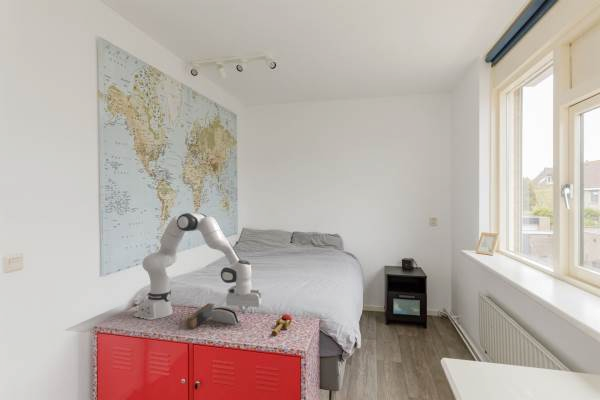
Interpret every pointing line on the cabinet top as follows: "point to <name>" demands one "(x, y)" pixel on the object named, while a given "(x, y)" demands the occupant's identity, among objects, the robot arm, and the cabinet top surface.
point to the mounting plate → (204, 315)
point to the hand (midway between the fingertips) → (243, 313)
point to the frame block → (195, 318)
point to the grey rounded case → (224, 315)
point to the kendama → (282, 323)
